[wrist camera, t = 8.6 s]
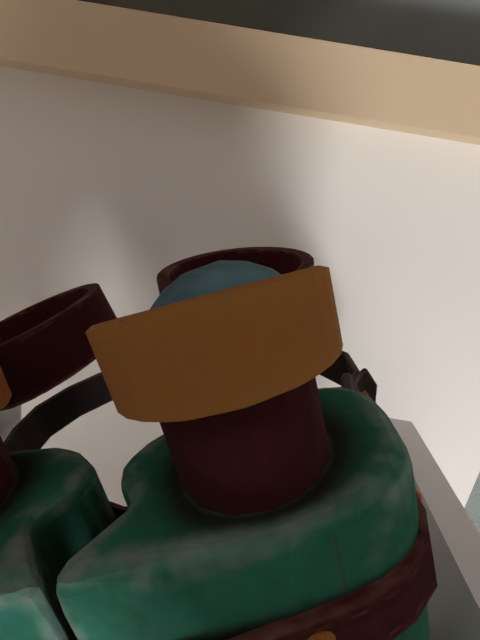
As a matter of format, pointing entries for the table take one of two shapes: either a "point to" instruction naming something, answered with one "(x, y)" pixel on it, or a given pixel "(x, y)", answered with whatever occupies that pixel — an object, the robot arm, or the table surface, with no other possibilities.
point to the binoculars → (208, 468)
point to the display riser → (247, 194)
